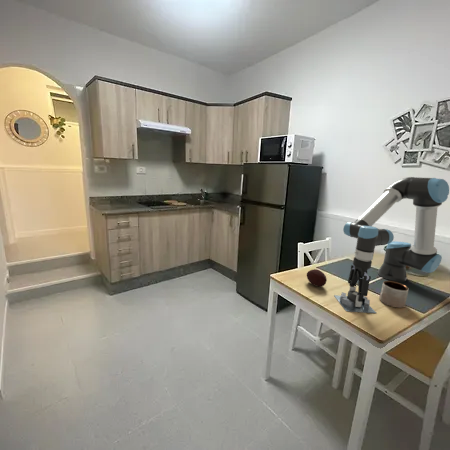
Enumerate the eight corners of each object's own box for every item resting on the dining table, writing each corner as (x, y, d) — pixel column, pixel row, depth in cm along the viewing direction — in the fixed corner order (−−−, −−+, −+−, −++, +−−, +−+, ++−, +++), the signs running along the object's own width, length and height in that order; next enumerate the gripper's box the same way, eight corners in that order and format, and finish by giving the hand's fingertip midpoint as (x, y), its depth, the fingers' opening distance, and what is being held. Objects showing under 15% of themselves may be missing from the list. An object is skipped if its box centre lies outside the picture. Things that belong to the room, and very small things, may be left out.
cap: (356, 299, 121) (358, 290, 119) (363, 307, 114) (365, 297, 113) (344, 299, 121) (345, 289, 119) (350, 306, 114) (352, 296, 113)
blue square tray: (360, 297, 124) (361, 291, 123) (376, 313, 111) (377, 307, 110) (333, 295, 125) (334, 290, 124) (346, 311, 111) (347, 304, 110)
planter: (395, 310, 114) (400, 292, 112) (374, 298, 124) (377, 282, 122) (409, 306, 118) (414, 288, 116) (387, 295, 128) (391, 279, 126)
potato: (319, 291, 128) (321, 275, 126) (301, 282, 138) (303, 267, 136) (329, 288, 133) (331, 272, 131) (311, 279, 143) (313, 264, 140)
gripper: (345, 251, 122) (338, 292, 127) (365, 266, 103) (356, 313, 108) (360, 252, 121) (352, 293, 127) (383, 267, 103) (373, 314, 108)
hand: (354, 302), depth 117 cm, fingers closed on cap, 6 cm apart
